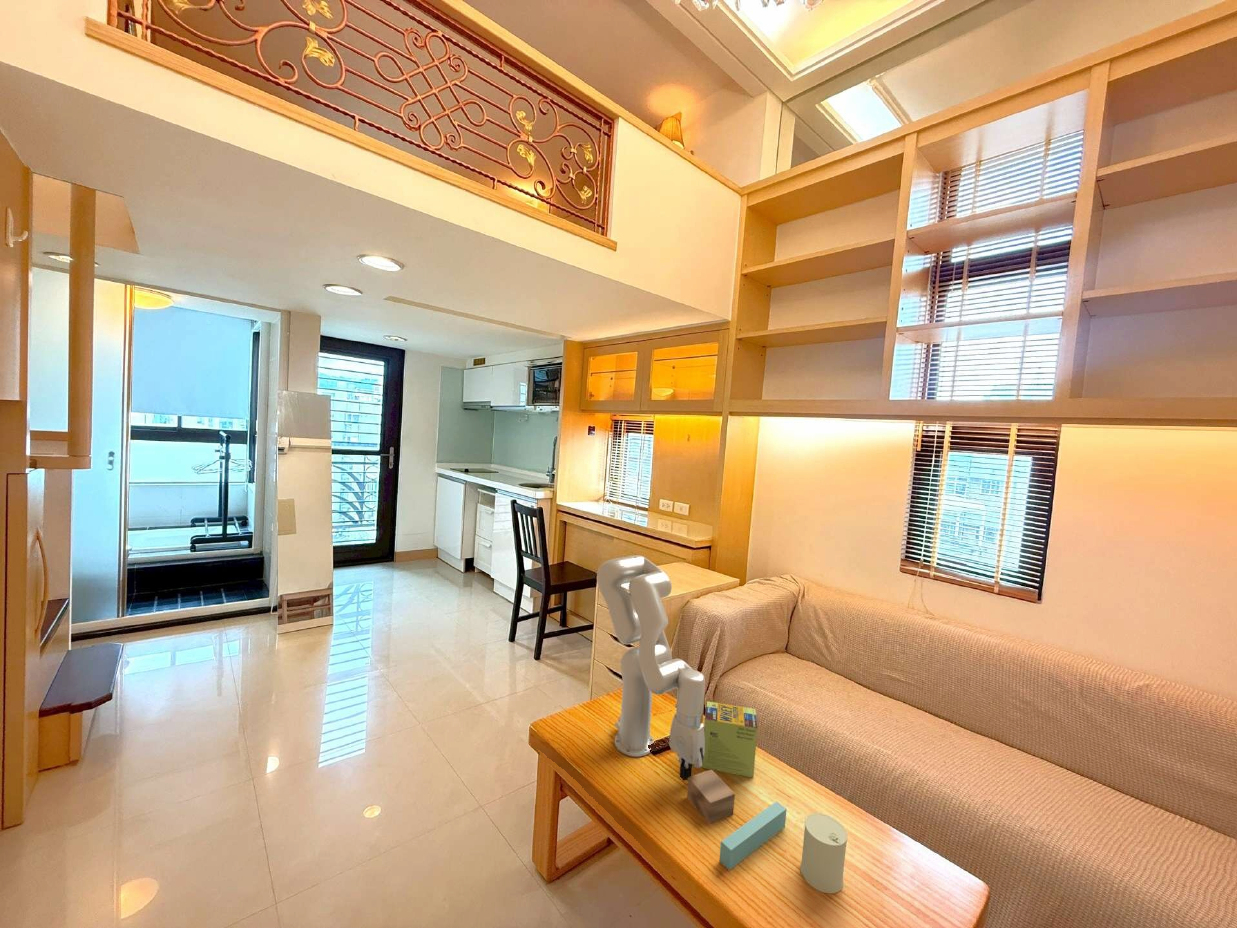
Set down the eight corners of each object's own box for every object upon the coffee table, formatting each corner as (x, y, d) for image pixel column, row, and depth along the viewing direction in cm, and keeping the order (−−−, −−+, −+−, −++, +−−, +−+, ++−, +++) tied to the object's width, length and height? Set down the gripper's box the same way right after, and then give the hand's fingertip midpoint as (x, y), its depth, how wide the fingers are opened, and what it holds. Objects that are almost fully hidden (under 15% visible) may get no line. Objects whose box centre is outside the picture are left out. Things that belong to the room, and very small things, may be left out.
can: (821, 899, 108) (826, 848, 107) (791, 864, 117) (796, 816, 116) (852, 885, 112) (857, 836, 111) (820, 852, 120) (825, 806, 119)
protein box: (754, 778, 145) (758, 728, 144) (701, 768, 148) (704, 718, 147) (751, 755, 155) (755, 708, 154) (702, 746, 158) (705, 700, 157)
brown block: (686, 797, 136) (688, 777, 136) (710, 789, 140) (711, 769, 139) (708, 824, 127) (710, 802, 127) (733, 814, 131) (734, 793, 130)
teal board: (719, 860, 116) (720, 840, 116) (775, 819, 130) (776, 801, 129) (729, 870, 114) (731, 850, 114) (784, 826, 127) (786, 808, 127)
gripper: (661, 707, 143) (658, 767, 144) (699, 734, 131) (695, 799, 132) (680, 699, 147) (676, 757, 149) (718, 724, 136) (714, 787, 137)
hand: (685, 776), depth 141 cm, fingers closed
